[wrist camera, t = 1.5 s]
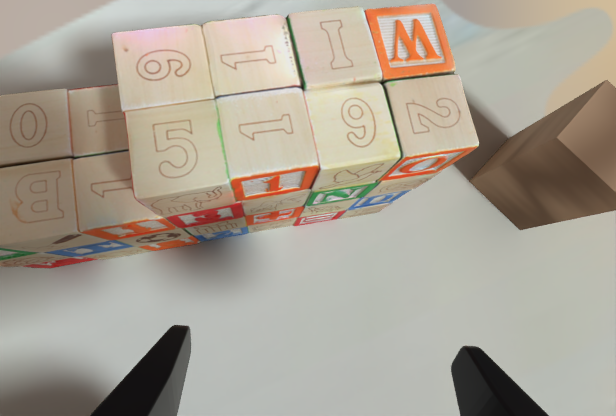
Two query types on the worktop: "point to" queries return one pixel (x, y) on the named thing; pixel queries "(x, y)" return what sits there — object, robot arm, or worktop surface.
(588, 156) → the walnut block
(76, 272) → the worktop surface
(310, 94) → the stack of blocks
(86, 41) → the worktop surface
